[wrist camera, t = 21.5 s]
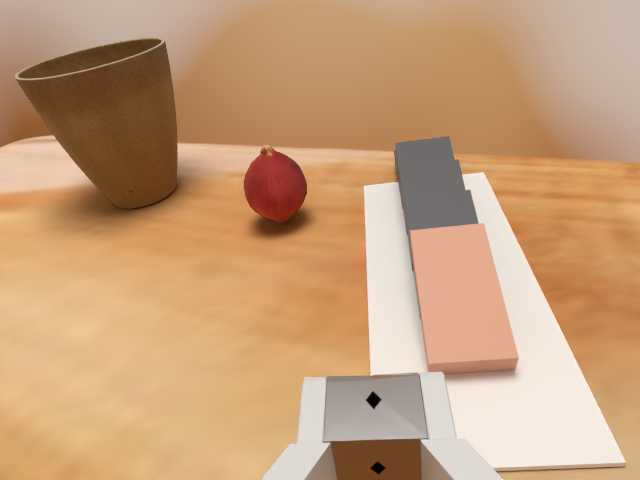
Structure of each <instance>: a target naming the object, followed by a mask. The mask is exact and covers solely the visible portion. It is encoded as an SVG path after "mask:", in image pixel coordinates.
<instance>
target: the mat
mask: <svg viewBox="0 0 640 480" xmlns="http://www.w3.org/2000/svg"><path fill="white" fill-rule="evenodd" d="M462 177H463V181H464V185H465V189H466V190H470V191H471V195H472V199H473V203H474V207H475V210H476V214H477V218H478V222H479V223H484V225H485V229H486V233H487V237H488V241H489V245H490V249H491V252H492V256H493V260H494V264H495V268H496V272H497V276H498V279H499V283H500V287H501V291H502V295H503V299H504V303H505V306H506V310H507V314H508V318H509V322H510V326H511V330H512V333H513V337H514V341H515V345H516V349H517V353H518V357H519V359H518V362H517V365H516V369H515V370H507V371H491V372H475V373H459V374H444V375H445V380H446V385H447V390H448V395H449V400H450V405H451V410H452V415H453V420H454V425H455V430H456V435H457V439H465V440H466V441H467V442H468V443H469V444H470V445H471V446H472V447H473V448H474V449H475V450H476V451H477V452H478V453H479V454H480V455H481V456H482V457H483V459H484V460H485V461H486V462H487V463H488V464H489V465H490V466H491V467H492V468H493V469H494V470H495V471H518V470H544V469H570V468H596V467H622V466H625V464H626V462H625V460H624V458H623V456H622V454H621V451H620V449H619V447H618V445H617V443H616V441H615V439H614V437H613V435H612V433H611V431H610V429H609V427H608V425H607V423H606V421H605V419H604V417H603V415H602V413H601V411H600V409H599V407H598V405H597V403H596V401H595V398H594V396H593V394H592V392H591V390H590V388H589V386H588V384H587V382H586V380H585V378H584V376H583V374H582V372H581V370H580V368H579V366H578V364H577V362H576V360H575V358H574V356H573V354H572V352H571V350H570V347H569V345H568V343H567V341H566V339H565V337H564V335H563V333H562V331H561V329H560V327H559V325H558V323H557V321H556V319H555V317H554V315H553V313H552V311H551V309H550V307H549V305H548V303H547V301H546V299H545V296H544V294H543V292H542V290H541V288H540V286H539V284H538V282H537V280H536V278H535V276H534V274H533V272H532V270H531V268H530V266H529V264H528V262H527V260H526V258H525V256H524V254H523V252H522V250H521V248H520V246H519V243H518V241H517V239H516V237H515V235H514V233H513V231H512V229H511V227H510V225H509V223H508V221H507V219H506V217H505V215H504V213H503V211H502V209H501V207H500V205H499V203H498V201H497V199H496V197H495V195H494V192H493V190H492V188H491V186H490V184H489V182H488V180H487V178H486V176H485V174H484V172H482V173H473V174H464V175H462ZM364 201H365V230H366V258H367V287H368V316H369V344H370V373H371V376H373V375H380V374H398V373H416V372H418V374H419V373H423V372H428V367H427V360H426V353H425V345H424V338H423V331H422V323H421V319H420V315H419V307H418V300H417V292H416V285H415V278H414V271H412V264H411V257H410V249H409V241H408V235H407V234H406V226H405V218H404V211H403V209H402V203H401V197H400V190H399V184H398V182H393V183H384V184H375V185H367V186H364Z"/></svg>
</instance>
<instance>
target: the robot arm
mask: <svg viewBox="0 0 640 480" xmlns="http://www.w3.org/2000/svg"><path fill="white" fill-rule="evenodd" d="M261 480H504V479H503V478H502V477H501V476H500V475H499V474H498V473H497V472H496V471H495V470H494V469H493V468H492V467H491V466H490V465H489V464H488V463H487V462H486V461H485V460H484V459H483V457H482V456H481V455H480V454H479V453H478V452H477V451H476V450H475V449H474V448H473V447H472V446H471V445H470V444H469V443H468V442H467V441H466V440H465V439H457V435H456V430H455V425H454V420H453V415H452V410H451V405H450V400H449V395H448V390H447V385H446V380H445V375H444V374H443V372H423V373H419V374H418V372H416V373H398V374H380V375H373V376H328V377H305V378H304V381H303V383H302V392H301V402H300V412H299V422H298V432H297V442H296V443H293V444H289V445H288V446H287V448H286V449H285V450H284V451H283V453H282V454H281V455H280V456H279V458H278V459H277V460H276V461H275V463H274V464H273V465H272V466H271V468H270V469H269V470H268V471H267V473H266V474H265V475H264V476H263V478H262V479H261Z"/></svg>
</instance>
